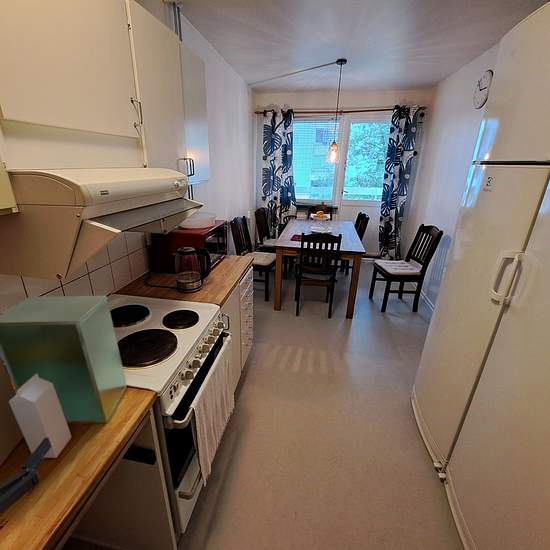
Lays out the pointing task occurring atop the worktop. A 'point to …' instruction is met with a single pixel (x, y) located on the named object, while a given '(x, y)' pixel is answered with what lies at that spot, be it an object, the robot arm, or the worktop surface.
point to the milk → (40, 415)
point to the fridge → (66, 352)
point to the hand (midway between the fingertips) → (16, 442)
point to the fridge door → (7, 416)
